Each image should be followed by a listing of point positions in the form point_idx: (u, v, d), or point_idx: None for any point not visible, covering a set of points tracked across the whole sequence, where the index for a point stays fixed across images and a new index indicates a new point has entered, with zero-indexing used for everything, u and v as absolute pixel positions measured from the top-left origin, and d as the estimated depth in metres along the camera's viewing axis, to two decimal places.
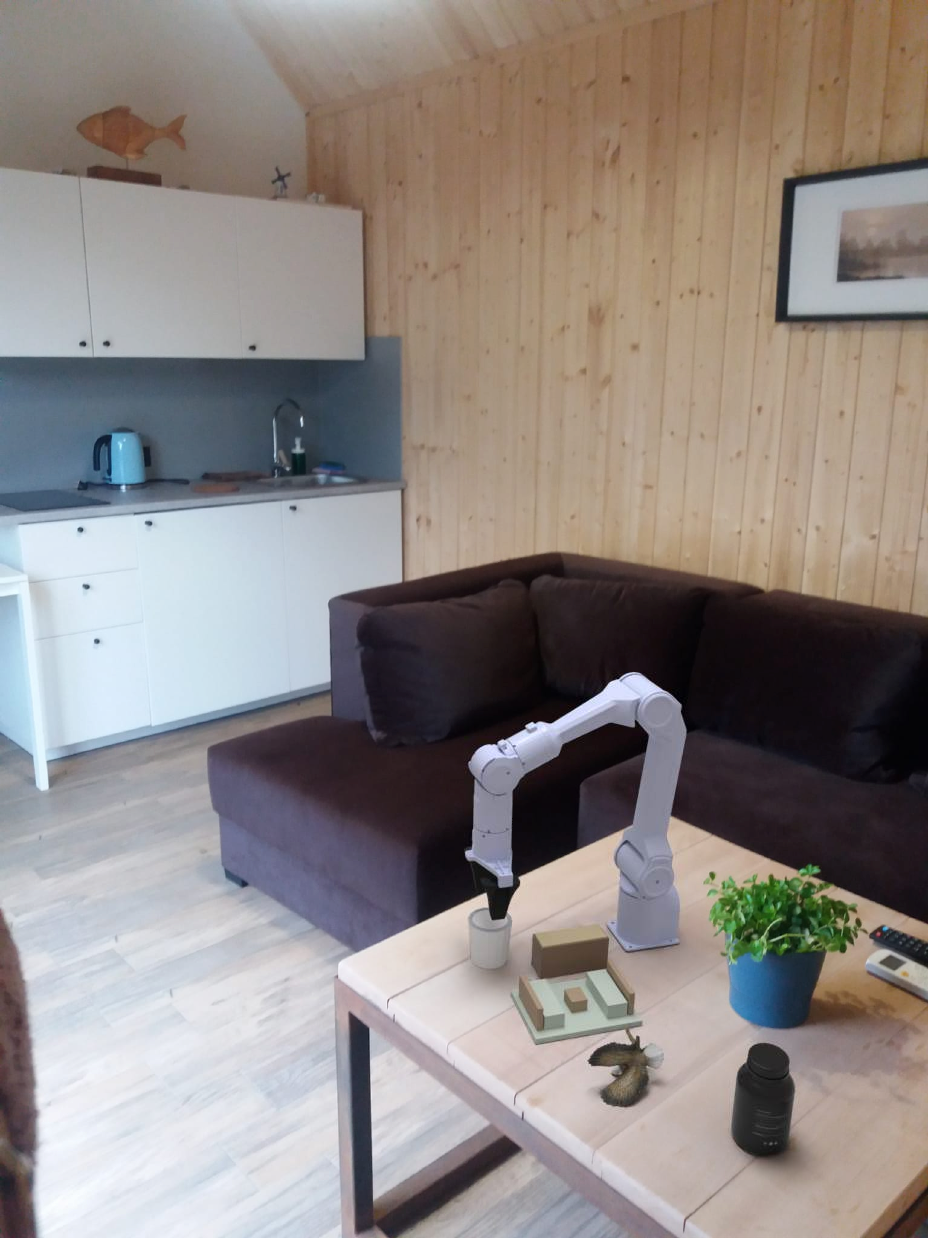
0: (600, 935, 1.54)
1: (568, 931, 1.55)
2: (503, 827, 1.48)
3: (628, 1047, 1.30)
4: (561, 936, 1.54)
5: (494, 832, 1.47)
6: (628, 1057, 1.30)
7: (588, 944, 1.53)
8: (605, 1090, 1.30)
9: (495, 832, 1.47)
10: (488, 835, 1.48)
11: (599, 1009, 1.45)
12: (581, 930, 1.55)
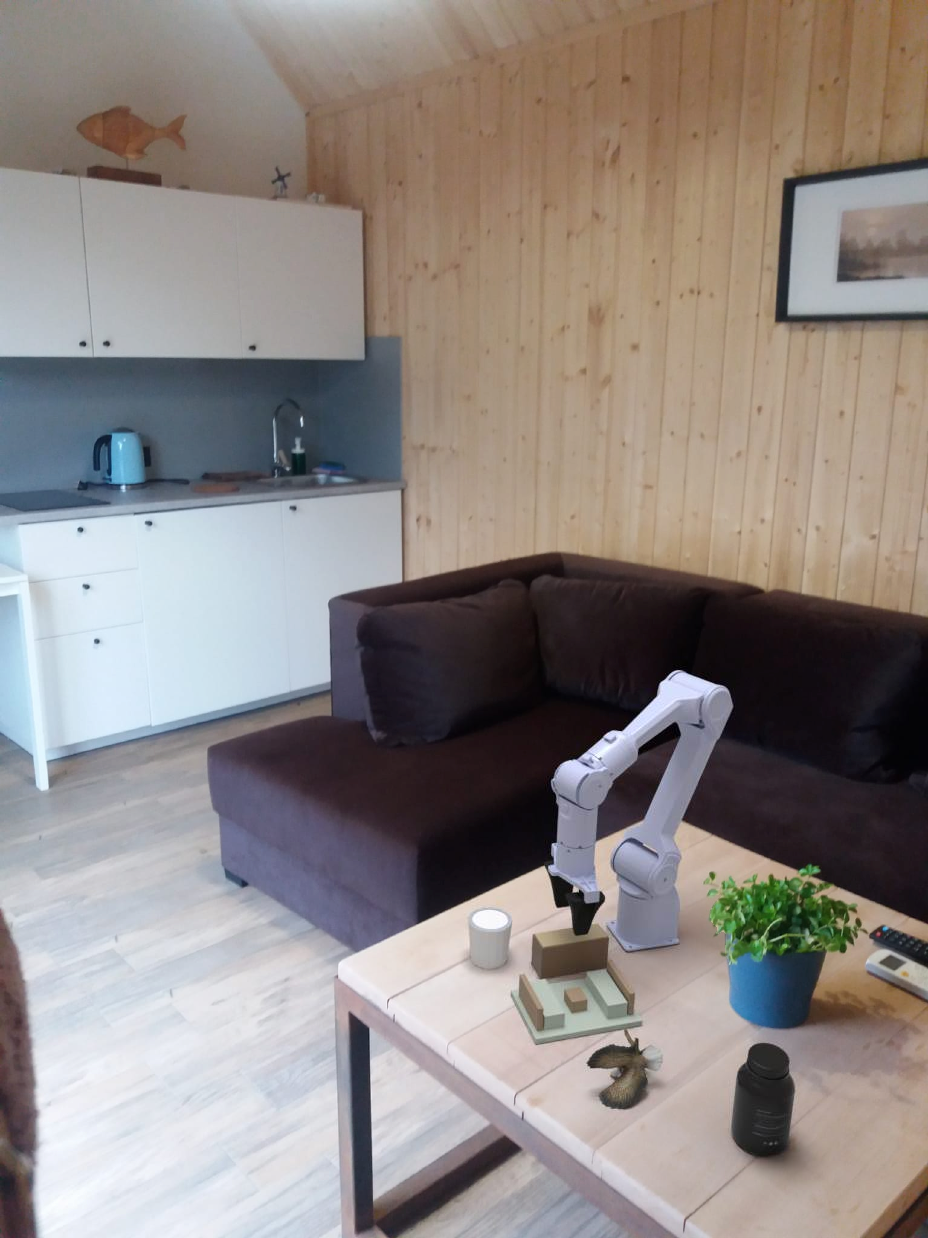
0: (600, 935, 1.54)
1: (568, 931, 1.55)
2: (592, 840, 1.48)
3: (627, 1049, 1.30)
4: (561, 936, 1.54)
5: (585, 847, 1.47)
6: (627, 1059, 1.30)
7: (588, 944, 1.53)
8: (604, 1092, 1.29)
9: (580, 847, 1.47)
10: (573, 850, 1.47)
11: (599, 1009, 1.45)
12: None
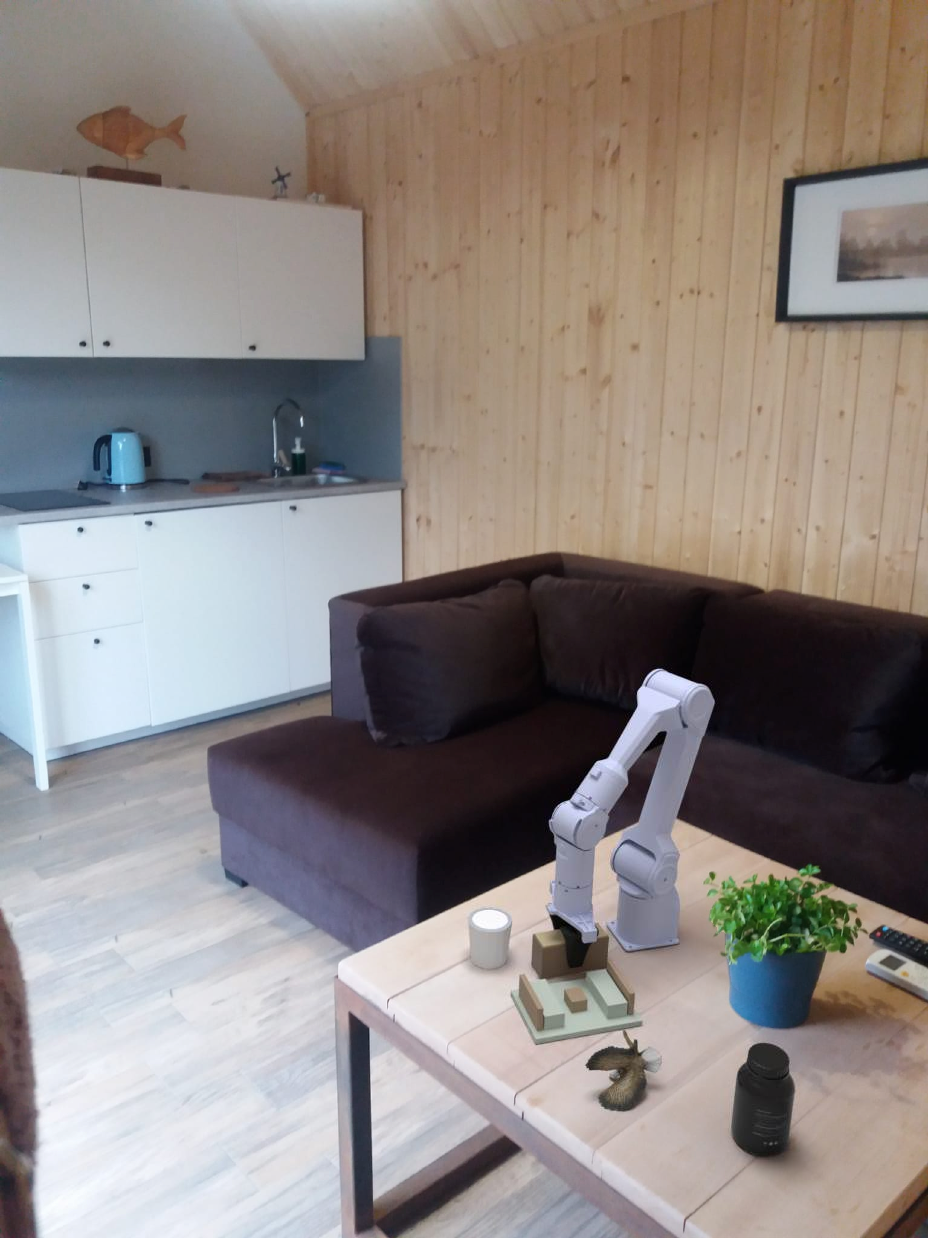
0: (600, 934, 1.54)
1: None
2: (590, 880, 1.50)
3: (626, 1051, 1.29)
4: (561, 936, 1.54)
5: (583, 887, 1.49)
6: (626, 1061, 1.30)
7: None
8: (603, 1094, 1.29)
9: (578, 887, 1.49)
10: (571, 890, 1.49)
11: (599, 1009, 1.45)
12: None
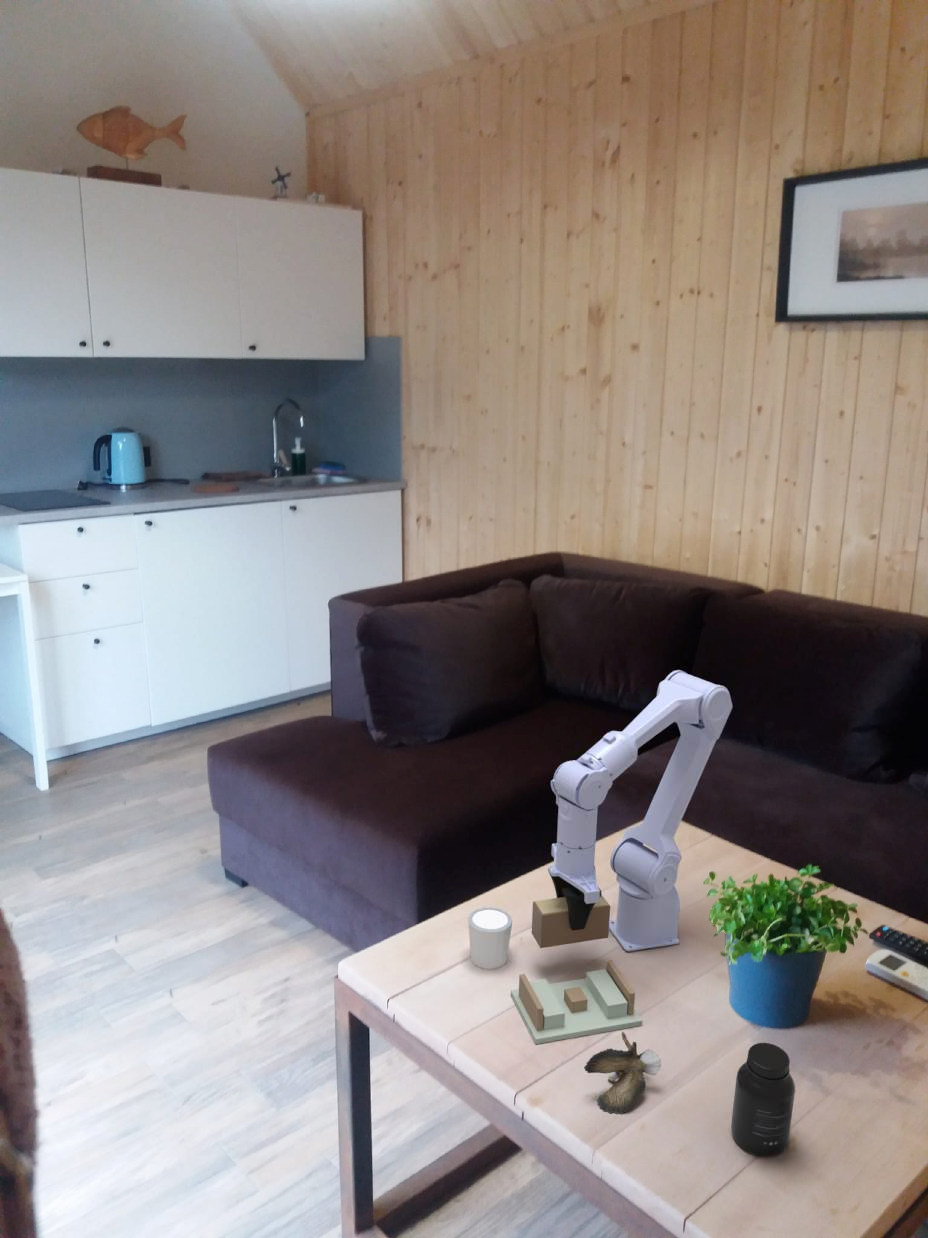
0: (601, 903, 1.53)
1: None
2: (592, 841, 1.48)
3: (625, 1053, 1.29)
4: (562, 904, 1.52)
5: (585, 847, 1.47)
6: (625, 1064, 1.29)
7: None
8: (602, 1097, 1.29)
9: (580, 848, 1.47)
10: (573, 851, 1.47)
11: (599, 1009, 1.45)
12: None
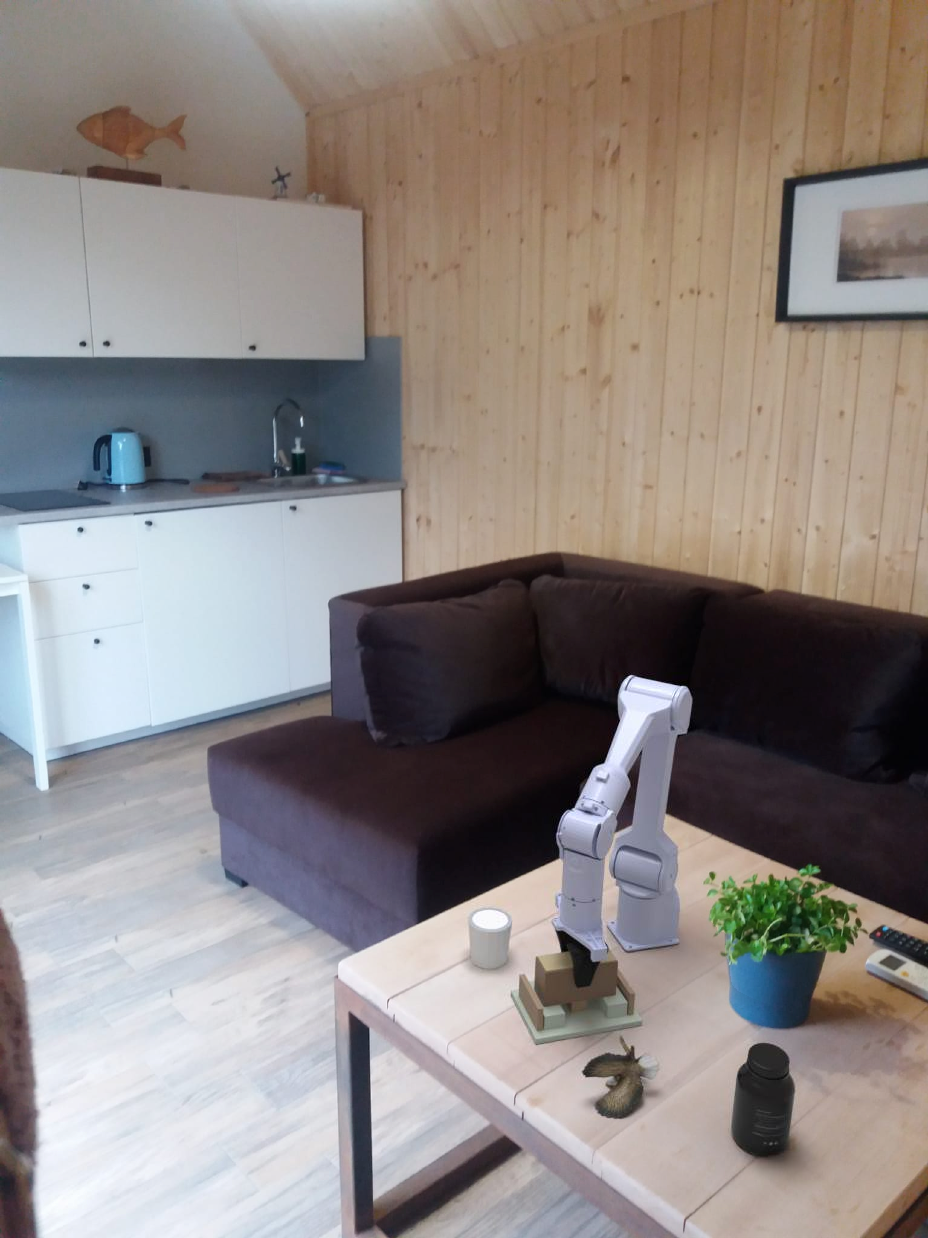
0: (608, 958, 1.43)
1: None
2: (602, 890, 1.39)
3: (623, 1058, 1.28)
4: (566, 959, 1.43)
5: (597, 898, 1.38)
6: (623, 1068, 1.29)
7: None
8: (599, 1101, 1.28)
9: (587, 901, 1.38)
10: (579, 904, 1.38)
11: (599, 1009, 1.45)
12: None
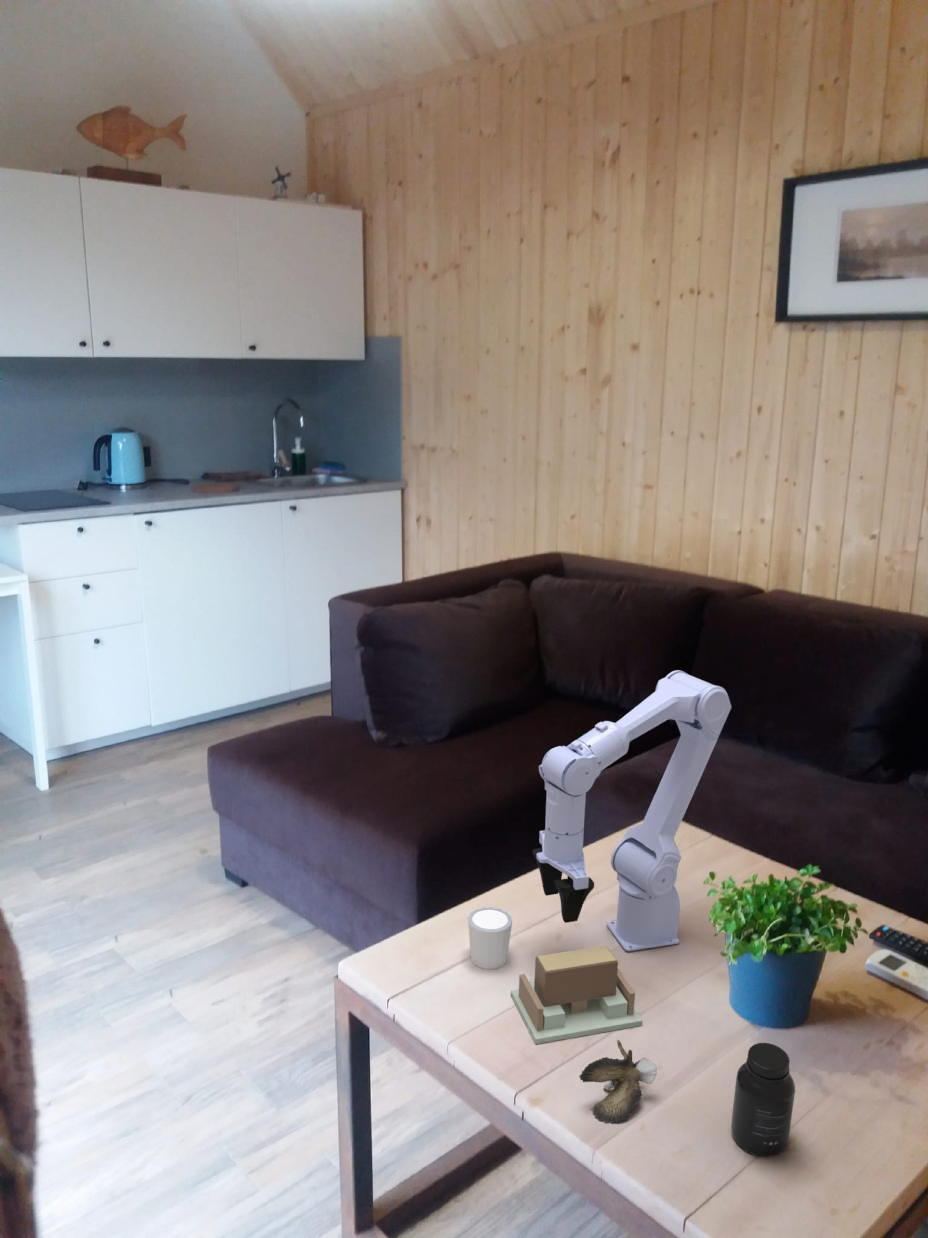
0: (608, 958, 1.43)
1: (574, 954, 1.44)
2: (580, 827, 1.47)
3: (620, 1062, 1.27)
4: (566, 959, 1.43)
5: (572, 833, 1.47)
6: (620, 1072, 1.28)
7: (595, 968, 1.42)
8: (597, 1106, 1.27)
9: (569, 834, 1.46)
10: (562, 837, 1.47)
11: (599, 1009, 1.45)
12: (588, 953, 1.44)
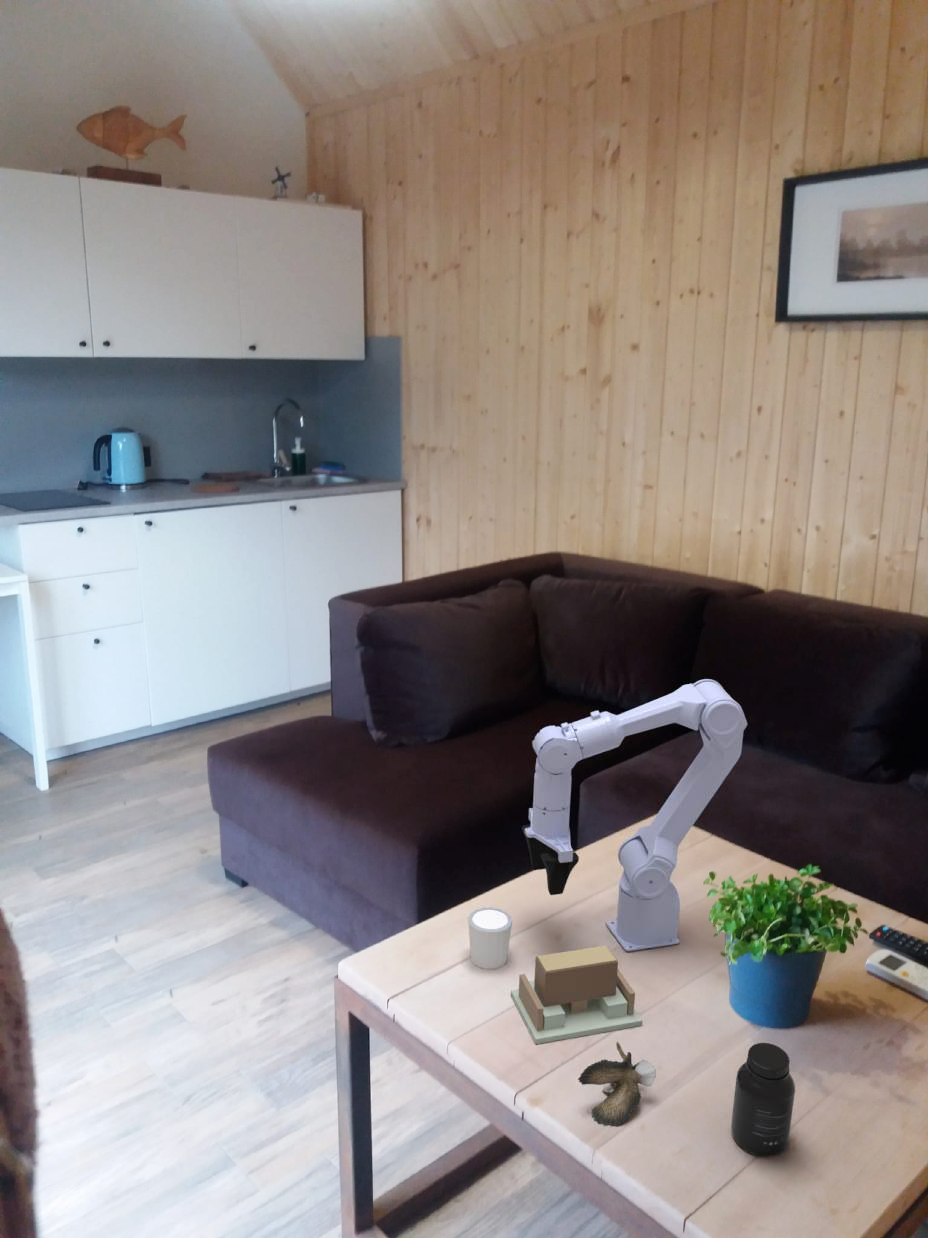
0: (608, 958, 1.43)
1: (574, 954, 1.44)
2: (559, 806, 1.53)
3: (619, 1064, 1.27)
4: (566, 959, 1.43)
5: (550, 810, 1.54)
6: (619, 1075, 1.27)
7: (595, 968, 1.42)
8: (596, 1109, 1.27)
9: (555, 810, 1.54)
10: (548, 813, 1.54)
11: (599, 1009, 1.45)
12: (588, 953, 1.44)
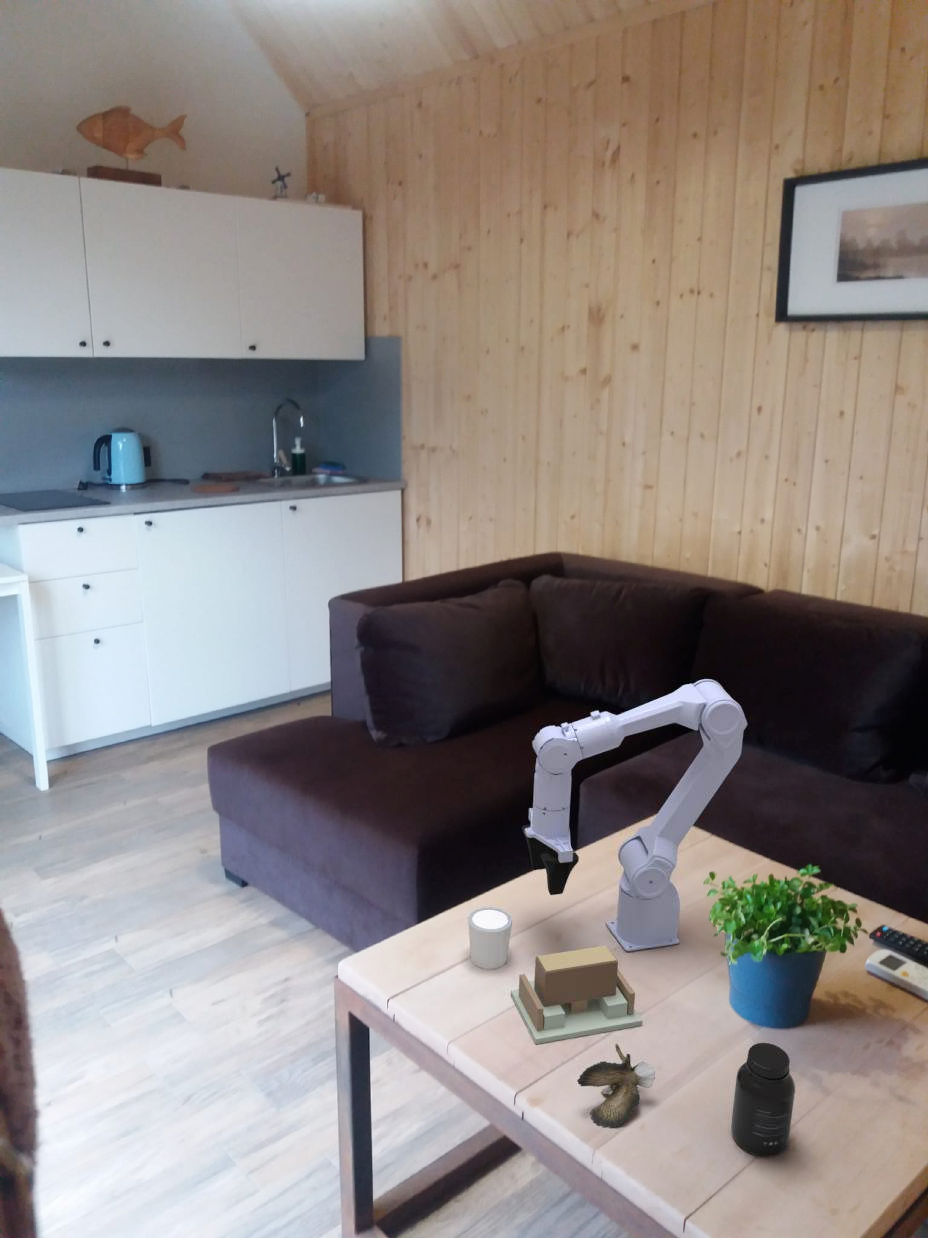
0: (608, 958, 1.43)
1: (574, 954, 1.44)
2: (559, 806, 1.53)
3: (618, 1066, 1.27)
4: (566, 959, 1.43)
5: (550, 810, 1.54)
6: (619, 1076, 1.27)
7: (595, 968, 1.42)
8: (595, 1110, 1.26)
9: (555, 810, 1.54)
10: (548, 813, 1.54)
11: (599, 1009, 1.45)
12: (588, 953, 1.44)
